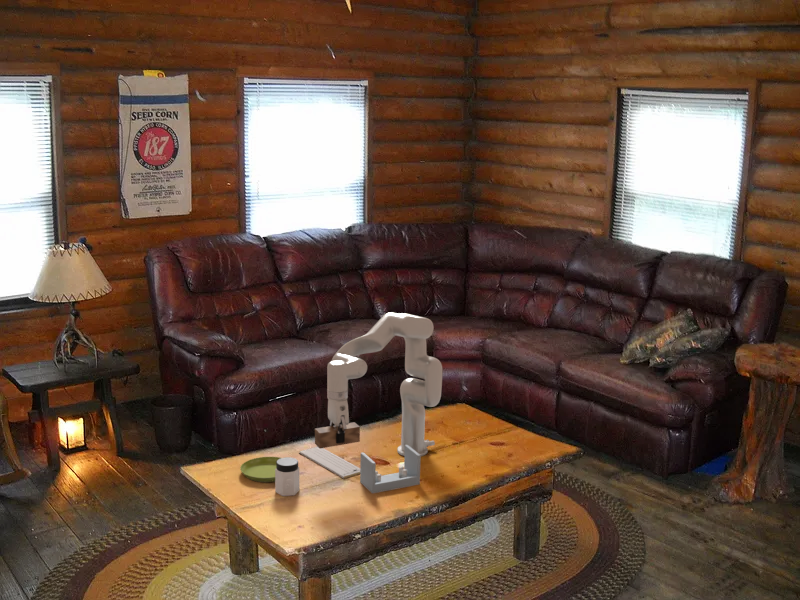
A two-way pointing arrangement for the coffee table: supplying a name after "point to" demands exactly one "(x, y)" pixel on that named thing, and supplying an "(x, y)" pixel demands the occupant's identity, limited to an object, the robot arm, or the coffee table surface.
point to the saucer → (260, 469)
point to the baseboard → (331, 462)
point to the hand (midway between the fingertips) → (337, 439)
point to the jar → (287, 476)
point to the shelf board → (328, 435)
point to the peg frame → (404, 478)
